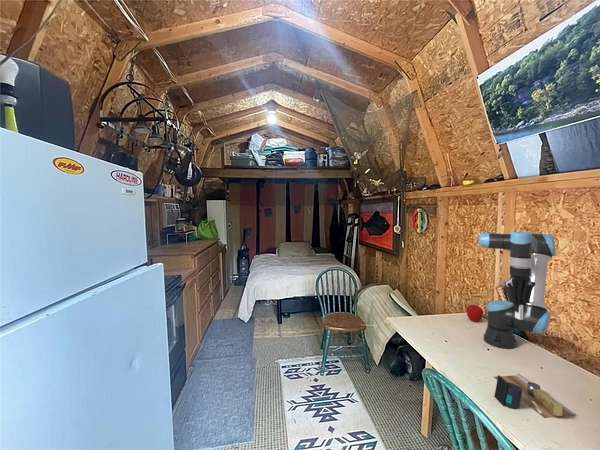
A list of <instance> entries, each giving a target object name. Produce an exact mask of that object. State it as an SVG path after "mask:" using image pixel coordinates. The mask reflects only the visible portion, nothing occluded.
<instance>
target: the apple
mask: <svg viewBox="0 0 600 450" xmlns="http://www.w3.org/2000/svg"><path fill="white" fill-rule="evenodd" d="M465 309H466V310H465V312H466V316H467V318H468V320H470V321H471V322H475V323H476V322H478V323H479V322H481V320H482V318H483V316H484V310H483V308H482V307H480V306H478V305H474V304H471V305H468V306H466V308H465Z"/></svg>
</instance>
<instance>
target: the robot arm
mask: <svg viewBox="0 0 600 450" xmlns="http://www.w3.org/2000/svg"><path fill="white" fill-rule="evenodd" d="M478 244H479V247H480V248H485V249H496V250H497V249H498V250H503V251H507V252H508V251H509V252H510V253H509V265H510V266H509V275H510V277H509V280H508V281H505V282H503V283H504V285H505V287H506V291H507V297H508V300H492V301H489V302H488V304H487V325H486V326H487V327H486V330H485V332H484V334H483V341H484V342H485V343H486V344H489V345H490V346H492V347H496V348H500V349H507V350H508V349H509V350H510V349H515V348H517V340H516V336H515V334H514V329H517V330H521V331H525V332H529V333H532V334H537V335H538V334H539V335H545V334H547V331H548V329H549V327H550V324H551V318H552V314H551V313H550V312H549V311H548V308H547V307H546V306H545V298H546V284H547V275H548V274H547V273H548V265H549V262H550V261H551V260H552V259H553V257H555V256H557V252H556V251H557V250H556V241H555V237H554V235H552V234H548V233H531V232H528V231H512V232H511V233H496V232H495V233H493V232H492V233H491V232H482V233H480V234H479V236H478Z"/></svg>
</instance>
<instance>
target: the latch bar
mask: <svg viewBox="0 0 600 450" xmlns="http://www.w3.org/2000/svg"><path fill="white" fill-rule="evenodd" d="M542 390H543V389H541V386H540V385H539V384H538V383H536V382H531V381H530V382H528V384H527V393H528V394H529V395H531V396H533V397H536V398H537V399H538V400H539V401H540V402H541V403H542V404H543V405H544V406H545V407H546V408H547V409H548V410H549V411H550V412H551V413H552V414H553V415H558V416H562V405H563V404H562V403H561V404H562V405H561V404H559V403H558V402H559V401H558V402H554V401H553V400H552V399H551V398H550V397H549V396H548V395H549V394H548V393H547V392H546V391H544V390H543V391H544V392H543V391H542ZM545 392H546V393H547V394H548V395H547V394H546V393H545Z"/></svg>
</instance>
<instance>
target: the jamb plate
mask: <svg viewBox="0 0 600 450" xmlns="http://www.w3.org/2000/svg"><path fill="white" fill-rule="evenodd" d="M500 376H501V377H502V378H503V379H504V380H505V381H506V382H510V383H513V384H515V385H517V386H519V387H520V388H521V389H522V390H523V391H522V396H521V401H523V402H524V403H525V404H526V405H527V406H529V407H530V408H531V409H532V410H533V411H535V412H536V413H537V414H538V415H540V416H541V417H542V418H544V419H550V418H552V419H553V418H566V417H576V416H577V414H576V413H575V412H574V411H572V410H571V409H569V408H568V407H567V406H565V405H564V404H562V403H561V402H559V400H556V398H554V396H553V397H552V396H551V395H550V394H549V393H547V392H546V391H544V390H543V389H541V390H542V391H543V392H545V393H546V394H547V395H548V396H549V397H550V398H551V399H552V400H553V401H554V402H558V403H559V404H561V405H562V416H558V415H553V414H552V413H551V412H550V411H549V410H548V409H547V408H546V407H545V406H544V405H543V404H542V403H541V402H540V401H539V400H538V399H537V398H536V397H533V396H531V395H529V394H528V393H527V384H528V382H531V381H530V380H529V379H527V378H526V377H524V376H523V375H521V373H515V375H500ZM493 378H495V380H497V379H498V375H497V376H493Z"/></svg>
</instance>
